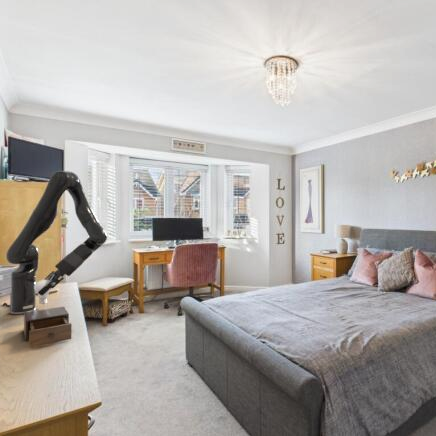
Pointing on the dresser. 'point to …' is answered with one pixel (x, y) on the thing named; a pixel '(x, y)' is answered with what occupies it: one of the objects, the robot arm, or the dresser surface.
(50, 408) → the dresser surface
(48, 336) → the drawer
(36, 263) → the robot arm
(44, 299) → the lightbulb
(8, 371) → the dresser surface
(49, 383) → the dresser surface
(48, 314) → the cabinet
